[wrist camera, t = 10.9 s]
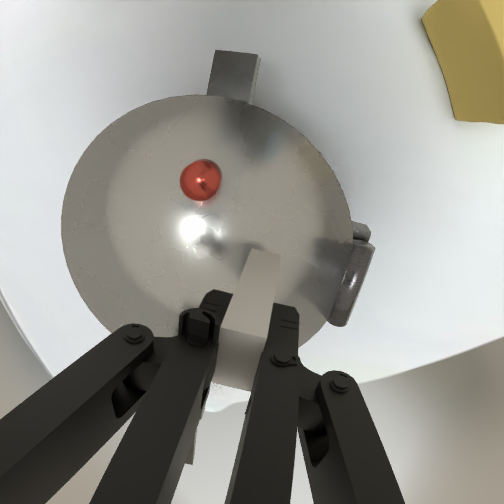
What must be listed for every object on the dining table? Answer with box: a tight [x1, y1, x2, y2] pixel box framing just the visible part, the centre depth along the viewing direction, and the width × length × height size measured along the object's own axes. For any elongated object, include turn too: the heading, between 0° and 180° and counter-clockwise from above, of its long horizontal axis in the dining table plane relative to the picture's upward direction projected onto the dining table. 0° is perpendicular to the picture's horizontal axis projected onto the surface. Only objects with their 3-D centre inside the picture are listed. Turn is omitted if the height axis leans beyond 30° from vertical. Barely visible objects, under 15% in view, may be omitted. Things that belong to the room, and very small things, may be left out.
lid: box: [61, 95, 375, 465], centre depth 19 cm, size 30×18×2 cm, turn 170°
